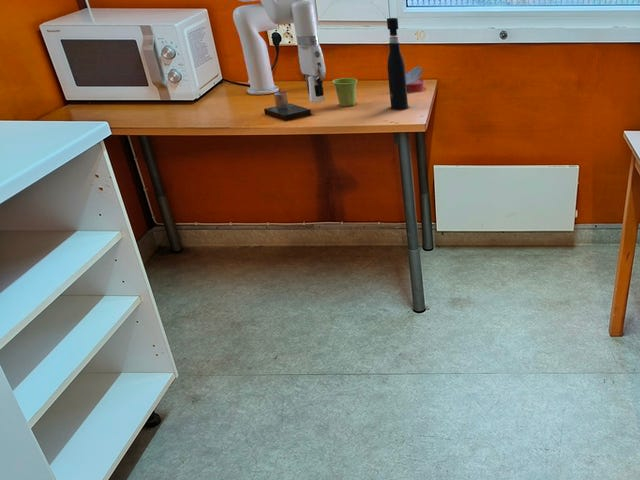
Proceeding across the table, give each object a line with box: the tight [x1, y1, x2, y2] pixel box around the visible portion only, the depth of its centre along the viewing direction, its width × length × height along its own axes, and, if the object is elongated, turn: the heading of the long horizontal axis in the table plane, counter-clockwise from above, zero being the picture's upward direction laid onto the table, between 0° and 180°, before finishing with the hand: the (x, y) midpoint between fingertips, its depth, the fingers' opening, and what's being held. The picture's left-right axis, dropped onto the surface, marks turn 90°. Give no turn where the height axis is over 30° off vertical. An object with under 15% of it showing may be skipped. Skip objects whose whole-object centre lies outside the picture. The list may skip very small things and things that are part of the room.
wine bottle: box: [386, 17, 409, 111], centre depth 232 cm, size 6×6×30 cm
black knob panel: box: [263, 102, 312, 122], centre depth 234 cm, size 14×11×2 cm
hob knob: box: [273, 91, 289, 109], centre depth 234 cm, size 4×4×5 cm
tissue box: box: [405, 66, 425, 93], centre depth 263 cm, size 11×10×10 cm
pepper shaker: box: [308, 76, 325, 103], centre depth 236 cm, size 5×5×11 cm
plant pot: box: [331, 77, 358, 107], centre depth 243 cm, size 9×9×9 cm
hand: (316, 94), depth 238 cm, fingers closed on pepper shaker, 3 cm apart
